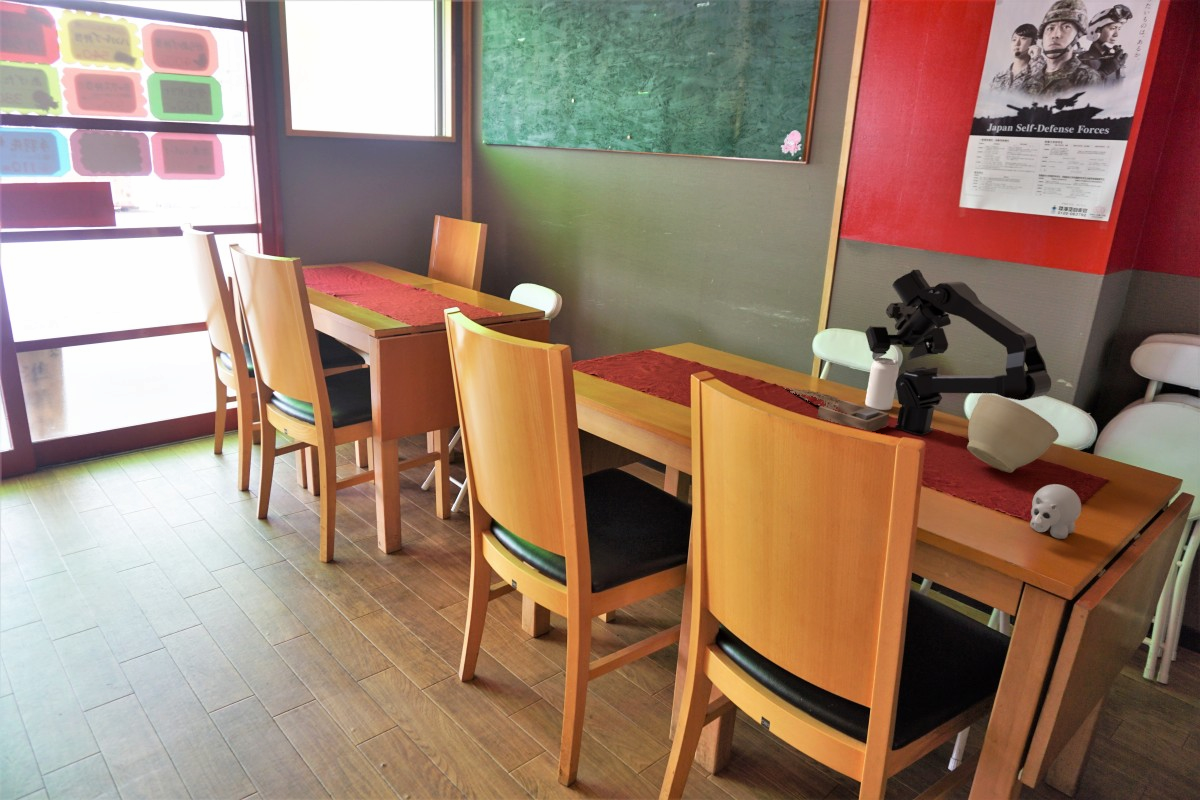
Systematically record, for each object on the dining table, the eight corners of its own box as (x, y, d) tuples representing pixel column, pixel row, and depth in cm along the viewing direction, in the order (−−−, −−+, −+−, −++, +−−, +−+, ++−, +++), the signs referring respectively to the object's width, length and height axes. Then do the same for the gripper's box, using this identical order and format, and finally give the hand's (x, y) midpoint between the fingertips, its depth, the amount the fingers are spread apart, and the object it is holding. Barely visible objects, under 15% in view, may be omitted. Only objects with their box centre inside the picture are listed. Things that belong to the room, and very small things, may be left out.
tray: (887, 426, 184) (889, 413, 183) (865, 434, 177) (867, 422, 176) (839, 411, 192) (841, 399, 191) (817, 418, 186) (819, 406, 185)
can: (889, 404, 200) (897, 358, 196) (893, 412, 194) (902, 365, 190) (863, 401, 201) (870, 356, 197) (866, 409, 195) (874, 362, 191)
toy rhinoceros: (1006, 536, 133) (1018, 490, 130) (1036, 518, 140) (1048, 474, 137) (1051, 553, 127) (1064, 506, 125) (1080, 534, 135) (1092, 488, 132)
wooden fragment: (878, 416, 191) (879, 412, 191) (847, 422, 186) (848, 418, 185) (801, 386, 212) (802, 383, 212) (771, 391, 206) (772, 387, 206)
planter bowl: (1011, 484, 164) (1040, 441, 164) (1039, 482, 149) (1072, 434, 149) (942, 440, 168) (970, 399, 168) (962, 434, 152) (994, 388, 152)
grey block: (879, 425, 183) (881, 411, 182) (864, 431, 179) (866, 416, 178) (865, 421, 186) (867, 407, 185) (850, 427, 181) (852, 412, 180)
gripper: (950, 293, 183) (918, 330, 196) (874, 292, 180) (847, 329, 194) (963, 334, 178) (929, 369, 191) (886, 332, 175) (857, 368, 189)
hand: (891, 358), depth 191 cm, fingers open, 9 cm apart
